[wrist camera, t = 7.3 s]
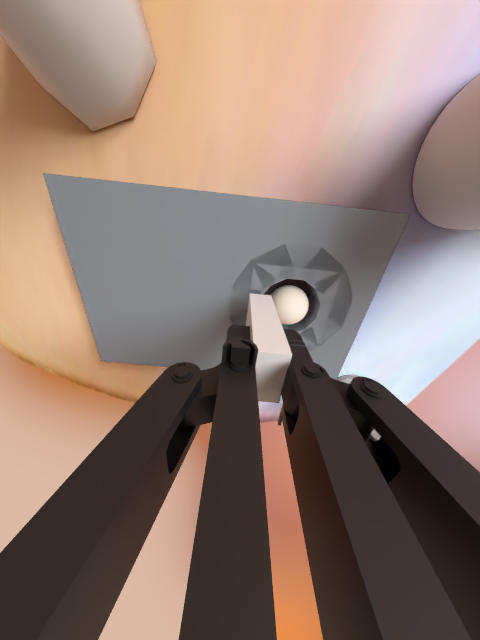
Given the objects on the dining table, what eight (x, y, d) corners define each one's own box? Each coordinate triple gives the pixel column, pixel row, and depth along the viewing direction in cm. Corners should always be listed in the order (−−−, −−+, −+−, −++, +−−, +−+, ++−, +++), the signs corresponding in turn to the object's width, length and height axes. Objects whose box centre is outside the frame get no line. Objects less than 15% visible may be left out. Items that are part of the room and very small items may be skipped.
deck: (76, 180, 13) (43, 173, 11) (384, 214, 14) (410, 214, 12) (117, 345, 20) (101, 361, 18) (325, 363, 20) (335, 381, 18)
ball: (262, 283, 15) (295, 298, 13) (288, 277, 17) (321, 289, 15) (258, 319, 17) (287, 336, 14) (282, 309, 18) (311, 324, 16)
